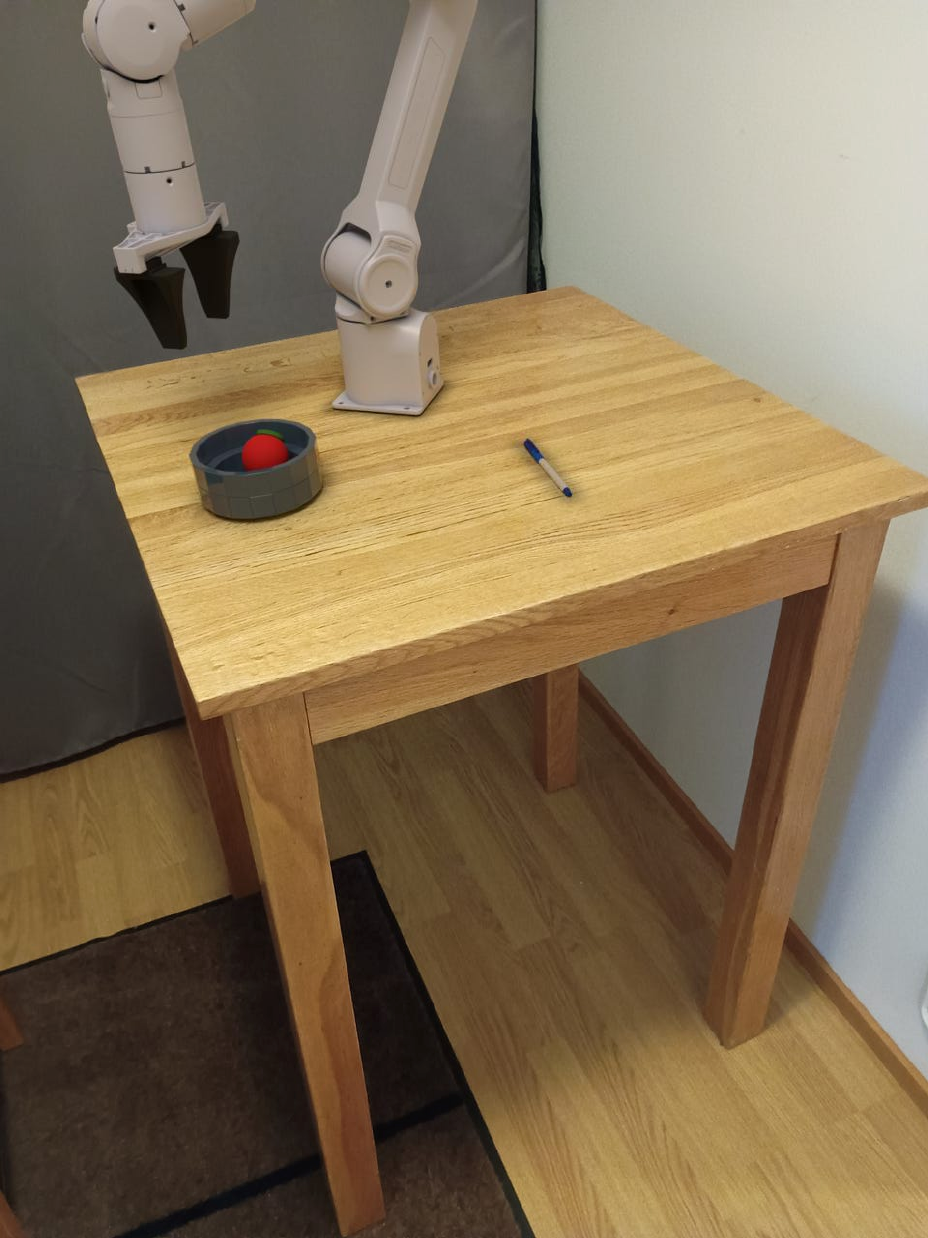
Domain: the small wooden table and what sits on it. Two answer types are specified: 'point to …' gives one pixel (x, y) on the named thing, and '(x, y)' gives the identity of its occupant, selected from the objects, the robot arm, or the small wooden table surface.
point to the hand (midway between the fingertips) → (197, 331)
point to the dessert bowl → (259, 490)
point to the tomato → (264, 451)
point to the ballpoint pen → (546, 467)
